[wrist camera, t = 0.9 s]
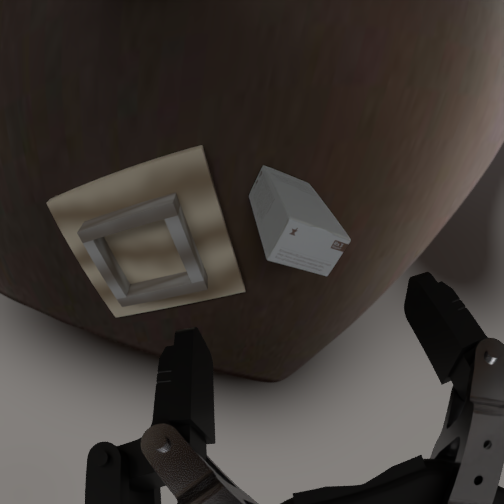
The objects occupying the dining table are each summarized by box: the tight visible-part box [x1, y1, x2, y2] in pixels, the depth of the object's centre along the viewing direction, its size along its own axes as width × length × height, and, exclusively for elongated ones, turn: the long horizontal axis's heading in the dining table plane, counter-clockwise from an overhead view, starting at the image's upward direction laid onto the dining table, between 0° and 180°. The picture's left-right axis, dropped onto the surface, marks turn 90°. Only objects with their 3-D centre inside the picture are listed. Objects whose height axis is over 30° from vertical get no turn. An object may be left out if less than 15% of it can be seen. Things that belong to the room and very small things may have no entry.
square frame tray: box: [47, 145, 246, 317], centre depth 34 cm, size 20×20×4 cm
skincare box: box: [249, 165, 351, 276], centre depth 28 cm, size 6×4×12 cm
